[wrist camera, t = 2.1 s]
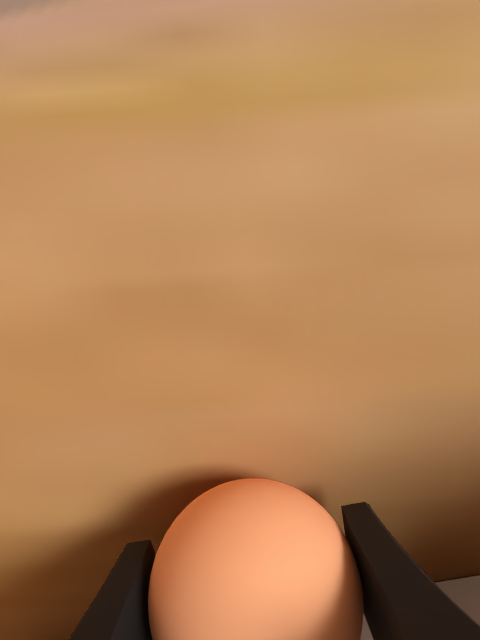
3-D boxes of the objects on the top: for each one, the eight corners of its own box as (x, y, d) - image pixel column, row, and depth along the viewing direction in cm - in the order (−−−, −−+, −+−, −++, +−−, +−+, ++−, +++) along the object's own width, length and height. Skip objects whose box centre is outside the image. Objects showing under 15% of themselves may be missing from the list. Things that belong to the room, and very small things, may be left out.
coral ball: (323, 423, 12) (387, 589, 7) (343, 561, 14) (406, 770, 9) (143, 456, 12) (92, 639, 8) (184, 588, 14) (164, 807, 9)
